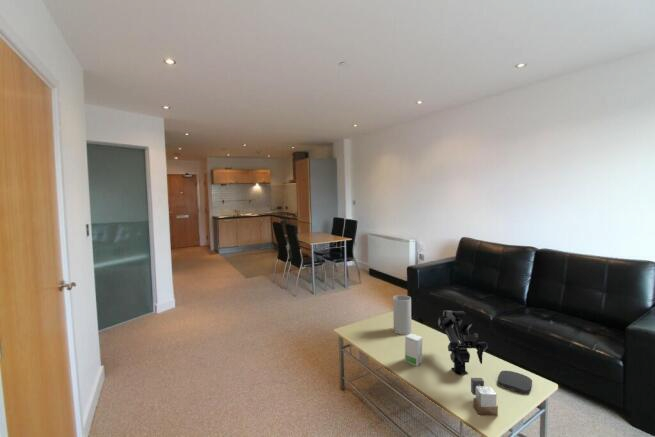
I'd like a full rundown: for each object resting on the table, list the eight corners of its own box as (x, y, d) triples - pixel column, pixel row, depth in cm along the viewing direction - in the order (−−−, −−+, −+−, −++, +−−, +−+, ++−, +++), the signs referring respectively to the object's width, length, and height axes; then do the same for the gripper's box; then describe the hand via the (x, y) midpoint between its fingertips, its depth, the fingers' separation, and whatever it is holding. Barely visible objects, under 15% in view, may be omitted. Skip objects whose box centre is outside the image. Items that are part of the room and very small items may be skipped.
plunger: (471, 391, 154) (471, 377, 153) (481, 391, 154) (481, 377, 153) (477, 402, 146) (477, 387, 146) (489, 402, 146) (489, 387, 145)
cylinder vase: (390, 331, 230) (389, 297, 228) (400, 326, 239) (399, 293, 237) (404, 336, 221) (404, 301, 219) (414, 331, 229) (414, 297, 227)
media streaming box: (501, 372, 175) (501, 367, 174) (533, 382, 165) (533, 376, 165) (496, 385, 163) (496, 380, 163) (529, 396, 154) (529, 390, 154)
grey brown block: (473, 407, 147) (473, 385, 146) (491, 407, 147) (492, 386, 146) (478, 416, 141) (478, 394, 140) (498, 416, 141) (498, 394, 140)
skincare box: (404, 361, 189) (404, 336, 187) (410, 357, 193) (409, 332, 192) (417, 366, 183) (417, 340, 182) (422, 361, 188) (422, 336, 187)
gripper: (449, 327, 164) (457, 358, 153) (486, 326, 163) (496, 358, 152) (444, 335, 172) (451, 366, 161) (479, 335, 171) (489, 365, 161)
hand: (472, 363), depth 159 cm, fingers open, 9 cm apart
